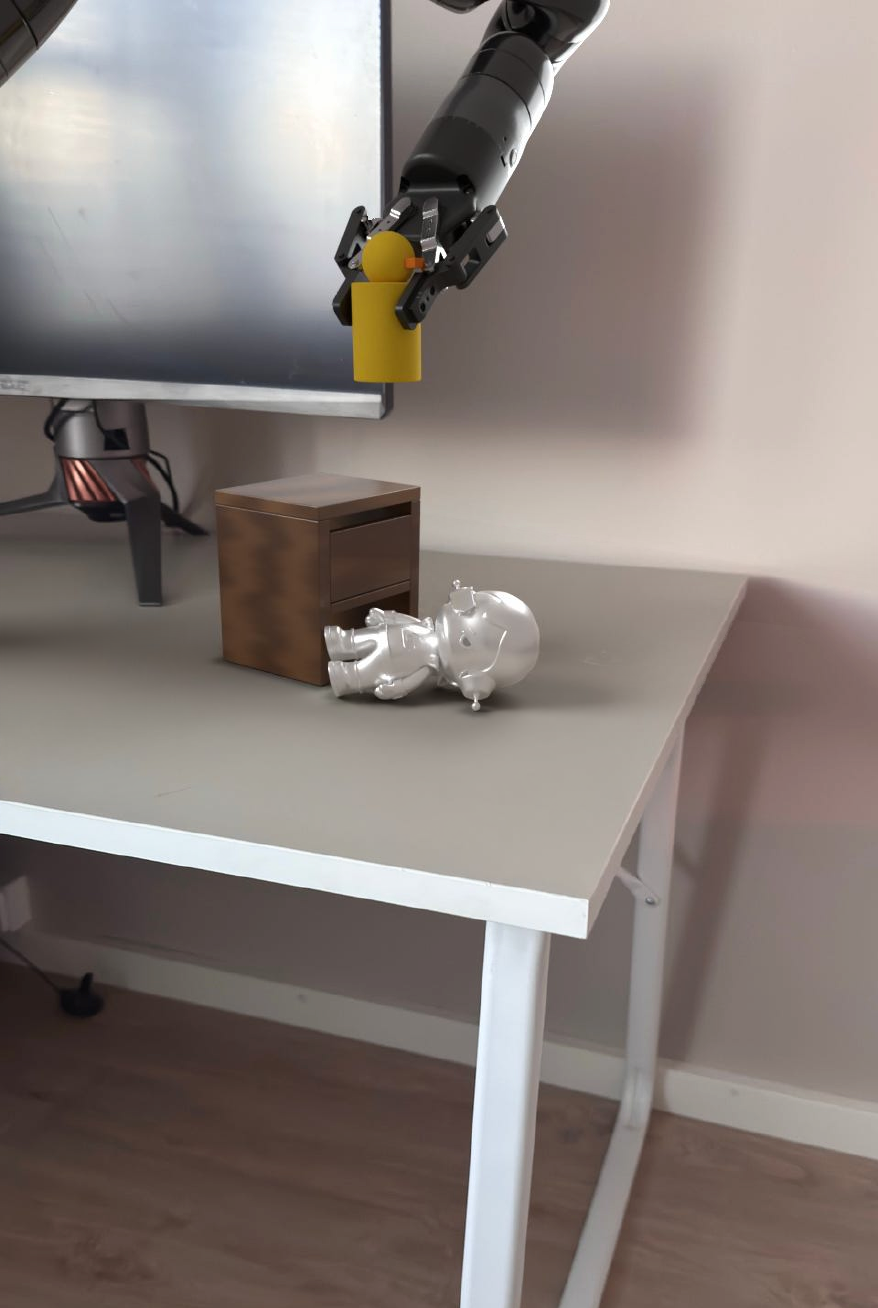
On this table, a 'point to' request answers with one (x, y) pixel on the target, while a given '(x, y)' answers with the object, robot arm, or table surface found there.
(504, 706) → the table surface
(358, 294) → the duck
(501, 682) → the figurine
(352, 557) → the wooden box
